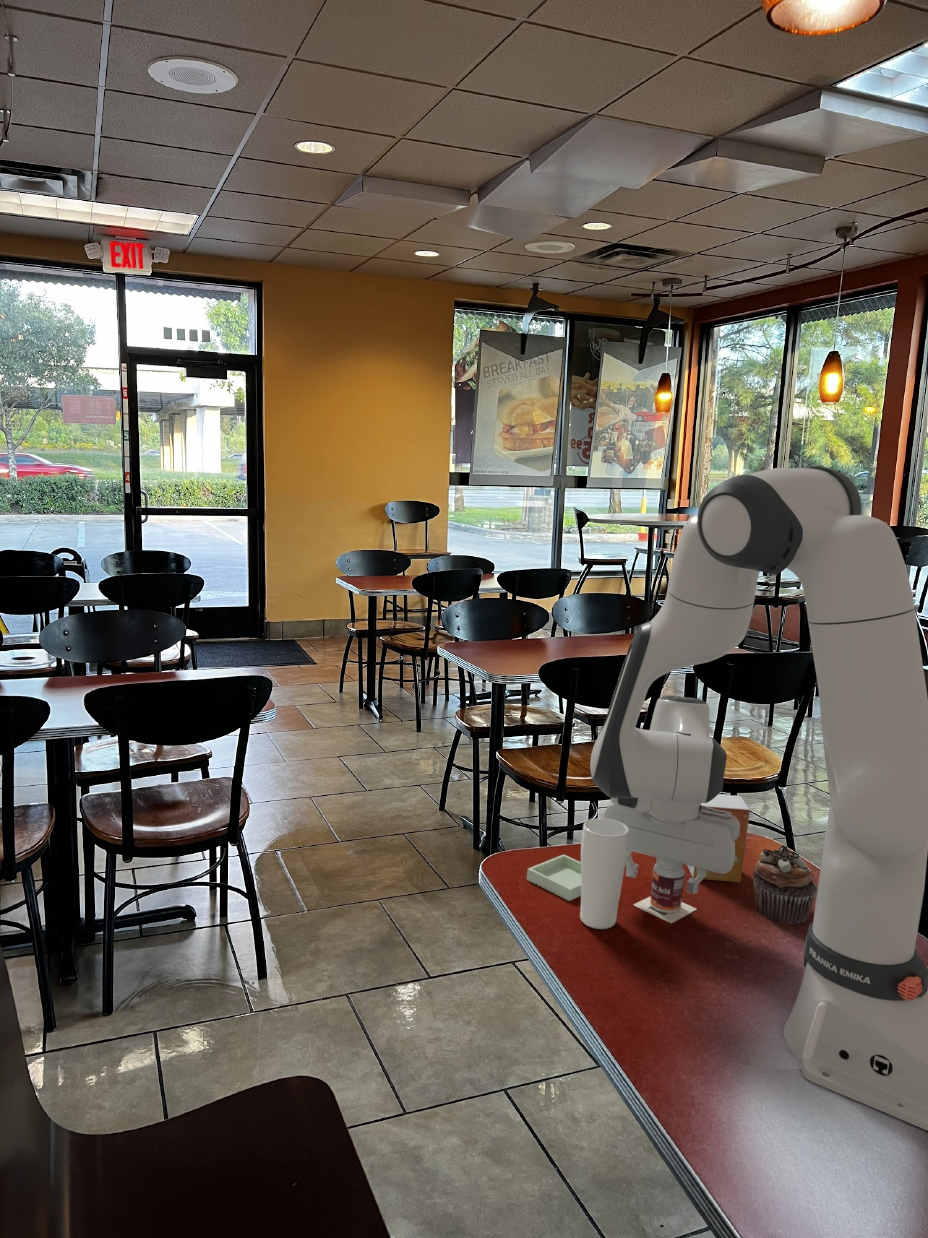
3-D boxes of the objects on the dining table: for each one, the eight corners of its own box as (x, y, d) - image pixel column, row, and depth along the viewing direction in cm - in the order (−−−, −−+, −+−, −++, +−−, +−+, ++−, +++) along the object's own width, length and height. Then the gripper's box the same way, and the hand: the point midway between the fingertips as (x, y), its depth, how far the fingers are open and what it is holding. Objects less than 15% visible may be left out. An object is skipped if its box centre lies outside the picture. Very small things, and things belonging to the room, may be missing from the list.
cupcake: (792, 933, 137) (800, 870, 135) (736, 906, 144) (743, 846, 142) (826, 915, 143) (834, 855, 141) (771, 891, 150) (778, 833, 148)
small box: (692, 880, 152) (700, 805, 150) (685, 863, 158) (692, 791, 156) (741, 883, 152) (750, 809, 150) (732, 866, 158) (740, 795, 156)
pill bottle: (643, 904, 142) (648, 854, 141) (661, 896, 145) (666, 846, 144) (668, 917, 139) (674, 865, 137) (687, 908, 142) (692, 857, 140)
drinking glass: (619, 913, 140) (627, 820, 137) (622, 935, 133) (631, 838, 130) (574, 908, 140) (582, 815, 137) (575, 931, 134) (583, 834, 131)
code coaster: (697, 909, 142) (697, 908, 142) (671, 923, 137) (671, 922, 137) (659, 892, 147) (659, 891, 147) (633, 905, 142) (633, 904, 142)
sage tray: (605, 884, 149) (606, 874, 148) (569, 901, 142) (570, 889, 142) (562, 865, 155) (563, 854, 155) (526, 879, 149) (527, 868, 148)
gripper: (745, 807, 137) (733, 893, 140) (612, 778, 146) (604, 859, 148) (738, 822, 132) (726, 910, 134) (601, 791, 140) (592, 875, 143)
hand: (661, 883), depth 141 cm, fingers open, 8 cm apart
